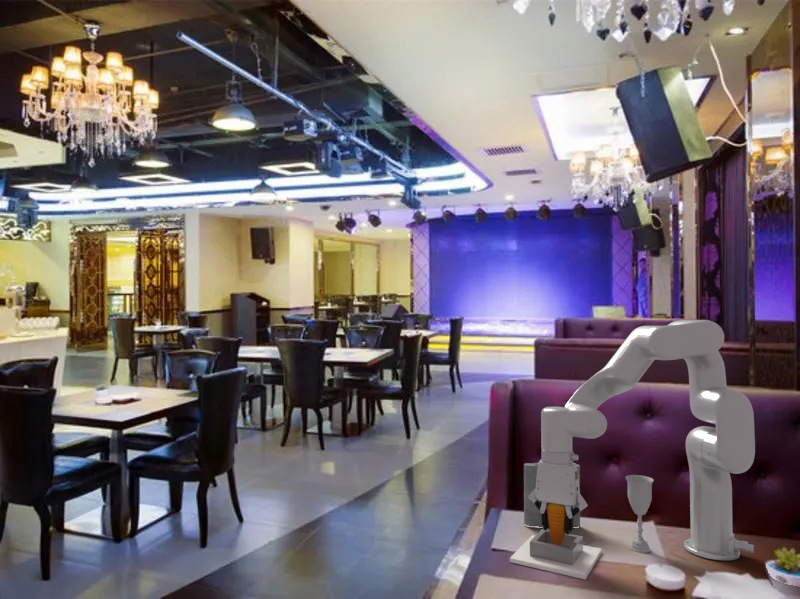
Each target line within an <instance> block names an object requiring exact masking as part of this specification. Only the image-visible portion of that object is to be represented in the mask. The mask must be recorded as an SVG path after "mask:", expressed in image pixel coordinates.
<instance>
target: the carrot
mask: <svg viewBox="0 0 800 599" xmlns="http://www.w3.org/2000/svg"><path fill="white" fill-rule="evenodd" d="M566 517H567V513H566V509H565V505H558V504H552V503H548V504H547V519H548V527H549V529H548V530H549V532H550V536H551V538H552V541H553V543H554V545H558V546H560V545H561V544H562V542H563V539H564V537H565V518H566Z"/></svg>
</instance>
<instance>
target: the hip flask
mask: <svg viewBox="0 0 800 599" xmlns="http://www.w3.org/2000/svg"><path fill="white" fill-rule="evenodd" d="M538 464H539V462H533V463H530V462H529V463H528V462H525V463H524V464H523V525H524V524H526V525H529V526H539V527H543V525H542V514H541V513H540V510H539V509H538V508H537V507H536V505H535V504H534V503H533V502H532V501H531V500H530V499H529V498H528V496H529V495H530V494H531V492H532V491H533V490H534V489H535V488H536V478H537V470H538ZM576 467H577V472H578V479H579V491H580V492H581V488H580V487H581V486H580V484H581V474H580V471H581V466H580V464H577V463H576ZM541 502H542V501H541ZM578 505H579V502H576V504H575V505H574V506H573V507H574V508H575V507H576V506H578ZM578 526H580V527H581V511H580V512H578V513H577V514H576V515H575V516H573V527H578Z"/></svg>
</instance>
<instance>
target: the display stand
mask: <svg viewBox="0 0 800 599" xmlns="http://www.w3.org/2000/svg"><path fill="white" fill-rule="evenodd" d="M602 550H603V549H602V548H600V547H595V546H591V545H586V544H585V545H584V536H583V535H577V534H573V533H572V534H571V533H570V534H569V535H567V534H566V533H565V537H564V539H563V542H562V544H561V545H560V546H558V545H554V543H553V541H552V538H551V536H550V532H549V529H547V530H544V529H540V530H539V531H538V533H537V534H536V535H535V534H531V536H529V538H528V539H527V540H526V541H524V543H523V544H522V545H521V546H520V547H519V548H518V549H517V550H516V551H515V552H514V553H513V554H512V555H511V556H510V557H509V563H510V564H511V563H512V564H516V565H521V566H526V567H529V568H534V569H537V570H542V571H546V572H551V573H554V574H555V573H556V574H559V575H564V576H567V577H568V576H569V577H573V578H577V579H582V580H586V579H587V578H588V577H589V575H590V573H591V572H592V570H593V569H594V566H595V565H596V563H597V561H598V559H599V558H600V556H601V555H602V553H603V551H602Z"/></svg>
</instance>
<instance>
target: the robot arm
mask: <svg viewBox="0 0 800 599" xmlns="http://www.w3.org/2000/svg"><path fill="white" fill-rule="evenodd" d="M724 343H725V333H724V330H723V329H722V327H721V326H720V325H719V324H718V323H716V322H714V321H713V320H712V321H711V320H708V319H680V320H675V321H671V322H670V323H669V324H667V325H642V326H638V327H636V328H634V329H633V330H632V331H631V332H630V333H629V335H628V336H627V338H625V340H624V341H623V342H622V344H621V345H620V346H619V347H618V349H617V351H615V353H614V354H613V355H612V357H611V358H610V360H609V361H608V362H607V363H606V364H605V366H604V367H603V368H602V369H601V370H599V371H598V372H596V373H595V374H594V375H592V376H591V377H589V378H588V380H586V381H585V382H583V383H582V384H581V385H580V386H579V387H578V388H577V390H575V392H573V395H571V397H570V398H569V400H568V401H567V402H566V404H565V405H564V407H563V406H546V407H544V408H542V410H541V413H540V414H541V415H540V421H541V422H540V423H541V424H540V425H541V426H540V427H541V428H540V430H541V431H540V432H541V437H540V438H541V441H540V443H541V445H540V446H541V455H540V456H541V459H540V460H539V461H538V463H539V464H538V470H537V478H536V488H535V489H534V490H533V491H532V492H531V494H530V495H529V496H528V498H529V499H530V500H531V501H532V502H533V503H534V504H535V505H536V507H537V508H538V509H539V510H540V513H541V514H542V525H543V529H544V530H549V529H548V528H549V527H548V519H547V504H548V503H552V504H558V505H565V509H566V513H567V517H566V518H565V533H566V534H567V535H569V534H571V533H572V531H574V529H573V516H575V515H576V514H577V513H578V512H580V513H581V512H582V511H583V510H585V509H586V508H587V507H588V503H587V501H586V500H585V499H584V497H583V495H581V490H580V491H579V479H578V472H577V467H576V464H577V463H575V462H574V461H578V460H579V455H578V454H575V453H574V450H573V438H574V437H575V438H583V439H597V438H599V437H601V436H602V435H604V434H605V432H606V431H607V428H608V421H607V419H606V416H605V414H603V413H602V412H601V411H600V410H598V408H599V407H600V406H601V405H602V404H603V403H604V402H606V401H607V400H609V399H610V398H613V397H615V396H618V395H621V394H624V393H627V391H630V390H632V389H633V388H634V387H635V386H636V385H637V384H638V382H639V381H640V380H641V378H643V376H644V374H645V373H646V372H647V370H648V369H649V368H650V367H651V366H652V364H653V362H654V361H655V360H659V361H674V360H680V359H681V360H684V361H685V362H686V366H687V370H688V382H689V383H688V384H689V386H688V387H689V388H688V389H689V408H690V411H691V413H692V415H693V416H694V417H695V418H697V419H698V420H701V421H703V422H707V423H709V424H712V425H715V427H713V426H706V425H701V426H697V427H695V428H693V429H692V430H690V431H689V432H688V434H687V436H686V439H685V452H686V456H687V462H688V463H687V464H688V467H689V468H688V469H689V501H690V502H689V507H690V509H689V511H690V512H689V513H690V514H689V515H690V522H689V523H690V537H689V538H687V539H685V540H684V542H683V546H684V548H685V550H687V551H688V552H689V553H692V554H693V555H695V556H698V557H701V558H705V559H709V560H713V561H724V562H725V561H734V560H735V561H736V560H737V559H739V558H740V556H741V551H743V552H746V553H752V554H755V551H754V550H755V549H754V548H755V546H754V544H751V543H749V542H748V541H744V540H738V538H735V533H733V487H732V486H733V485H732V478H731V474H735V475H736V474H739V475H740V474H742V473H743V474H744V473H745V472H747V471H748V470H749V469H750V468H751V466H753V464H754V460H755V457H756V456H755V455H756V438H755V436H756V435H755V417H754V416H755V415H754V409H753V406H752V402H751V401H750V400H749V398H748V397H747V396H746V395H745V394H744V393H743V392H741V391H740V390H737V389H734V388H728V386H727V376H726V366H725V361H724V360H723V357H722V355H721V353H720V352H719V350H720V349H721V347H723V344H724ZM730 473H731V474H730ZM541 501H542V502H541ZM576 502H579V505H578V506H576V507H575V508H574V507H573V506H574V505H575V504H576Z"/></svg>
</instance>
